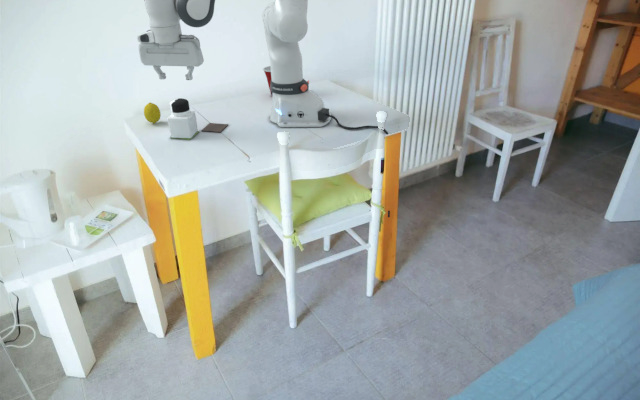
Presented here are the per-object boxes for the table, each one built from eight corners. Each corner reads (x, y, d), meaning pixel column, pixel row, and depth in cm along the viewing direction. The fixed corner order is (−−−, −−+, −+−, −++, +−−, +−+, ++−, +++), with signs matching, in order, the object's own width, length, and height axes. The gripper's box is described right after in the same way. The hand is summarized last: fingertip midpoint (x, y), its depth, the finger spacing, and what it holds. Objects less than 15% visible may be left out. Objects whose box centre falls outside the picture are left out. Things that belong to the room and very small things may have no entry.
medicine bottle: (198, 130, 161) (192, 96, 154) (191, 138, 155) (185, 104, 148) (178, 129, 161) (172, 96, 155) (170, 138, 155) (163, 103, 149)
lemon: (165, 123, 168) (160, 102, 164) (151, 127, 165) (146, 106, 161) (157, 119, 171) (153, 98, 167) (143, 124, 168) (138, 102, 164)
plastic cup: (279, 89, 199) (277, 61, 193) (296, 95, 193) (294, 66, 186) (259, 96, 192) (256, 67, 186) (276, 101, 186) (274, 71, 180)
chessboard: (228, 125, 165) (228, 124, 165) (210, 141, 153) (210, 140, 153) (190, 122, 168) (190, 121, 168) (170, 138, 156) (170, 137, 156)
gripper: (202, 32, 142) (210, 77, 149) (143, 32, 146) (153, 75, 153) (193, 37, 137) (201, 83, 144) (132, 36, 141) (143, 81, 148)
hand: (176, 79), depth 149 cm, fingers open, 8 cm apart
